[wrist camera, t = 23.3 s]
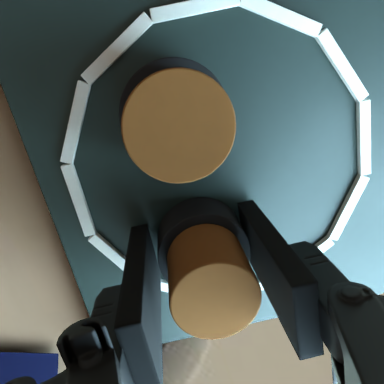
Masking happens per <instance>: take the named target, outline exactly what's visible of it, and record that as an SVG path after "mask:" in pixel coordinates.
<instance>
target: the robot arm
mask: <svg viewBox="0 0 384 384" xmlns="http://www.w3.org/2000/svg"><path fill="white" fill-rule="evenodd" d="M237 205H238V211H239V218H240V224H241V226H242V227H243V229H244V231H245V233H246V235H247V237H248V239H249V242H250V247H251V256H250V263H251V265H252V267H253V269H254V271H255V273H256V275H257V277H258V279H259V281H260V283H261V285H262V287H263V289H264V291H265V293H266V295H267V297H268V299H269V301H270V303H271V305H272V306H273V308H274V310H275V312H276V314H277V316H278V318H279V320H280V322H281V324H282V326H283V328H284V330H285V332H286V334H287V336H288V338H289V340H290V342H291V344H292V346H293V348H294V350H295V351H296V353H297V355H298V357H299V359H300V360H304V359H308V358H312V357H316V356H320V355H324V351H323V342H324V343H325V345H326V347H327V348H328V350H329V351H330V353H331V361H332V375H333V384H337V383H338V384H384V296H382V295H377V294H376V293H375V292H374V291H373V290H372V289H371V288H369V287H367V286H365V285H364V284H360V283H356V282H350V281H349V280H348V279H347V278H346V277H345V275H344V274H343V273H342V272H341V271H340V270H339V269H338V268H337V267H336V266H335V265H334V264H333V263H332V262H331V261H330V260H329V259H328V258H327V257H326V256H325V255H324V254H323V252H322V251H321V250H320V249H319V248H318V247H317V246H315V245H313V244H311V243H309V242H307V241H302V242H298V243H293V244H288V243H287V242H286V240H285V239H284V238H283V237H282V235H281V234H280V233H279V232H278V230H277V229H276V228H275V227H274V225H273V224H272V223H271V222H270V220H269V219H268V218H267V217H266V215H265V214H264V213H263V212H262V210H261V209H260V208H259V207H258V205H257V204H256V203H255V202H254V200H249V201H245V202H240V203H237ZM56 345H57V347H58V350H59V352H60V354H61V356H62V359H63V361H64V363H65V366H66V370H64V371H63V372H61V373H60V374H58V375H56V376H54V377H52V378H50V379H48V380H46V381H44V382H42V383H40V384H163V367H162V319H161V273H160V269H159V266H158V262H157V258H156V254H155V251H154V247H153V243H152V240H151V236H150V232H149V229H148V225H147V224H142V225H138V226H134V227H131V230H130V236H129V242H128V248H127V254H126V260H125V265H124V271H123V277H122V283H121V284H120V285H115V286H111V287H107V288H103V289H102V291H101V292H100V293H99V294H98V296H97V297H96V299H95V302H94V306H93V310H92V313H91V318H87V319H83V320H80V321H78V322H76V323H74V324H72V325H71V326H69V327H68V328H67V329H66V330H64V332H63V333H62V334H61V335H60V337H59V338H58V341H57V344H56ZM5 384H37V383H36V381H35V379H34V378H32V377H29V376H22V377H18V378H15V379H12V380H10V381H8V382H7V383H5Z"/></svg>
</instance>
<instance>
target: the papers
mask: <svg viewBox="0 0 384 384" xmlns="http://www.w3.org/2000/svg"><path fill="white" fill-rule="evenodd" d="M57 373H58V354H50V353H16V352H0V384H5V383H7V382H8V381H10V380H12V379H15V378H18V377H22V376H29V377H32V378H34V379H35V381H36V383H37V384H40V383H42V382H44V381H46V380H48V379H50V378H52V377H54V376H56V375H57Z"/></svg>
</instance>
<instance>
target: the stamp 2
mask: <svg viewBox="0 0 384 384" xmlns="http://www.w3.org/2000/svg"><path fill="white" fill-rule="evenodd" d="M250 256H251V247H250V242H249V239H248V237H247V235H246V233H245V231H244V229H243V227H242V226H241V224H240V222H239V220H238V218H237V216H236V215H235V213H234V212H233V211H232V210H231V209H230V208H229V207H228V206H227V205H226V204H224V203H222V202H220V201H218V200H216V199H212V198H207V197H196V198H191V199H187V200H184V201H182V202H180V203H178V204H176V205H175V206H174V207H172V208H171V209H170V210H169V211H168V212H167V213H166V215H165V216H164V217H163V219H162V221H161V223H160V226H159V230H158V252H157V257H158V266H159V269H160V272H161V274H162V276H163V277H164V279H165V280H166V281H167V282H168V293H169V309H170V313H171V316H172V318H173V320H174V321H175V323H176V324H177V325H178V326H179V327H180V328H181V329H182V330H183V331H184V332H186V333H188V334H189V335H191V336H194V337H197V338H201V339H211V340H213V339H222V338H226V337H229V336H232V335H234V334H236V333H238V332H240V331H242V330H243V329H244V328H246V327H247V326H248V325H249V324H250V323H251V322H252V321H253V320H254V318H255V317H256V315H257V313H258V311H259V309H260V305H261V300H262V292H261V287H260V284H259V282H258V280H257V277H256V275H255V273H254V271H253V269H252V267H251V265H250V263H249V261H250Z"/></svg>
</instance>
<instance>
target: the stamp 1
mask: <svg viewBox="0 0 384 384" xmlns="http://www.w3.org/2000/svg"><path fill="white" fill-rule="evenodd" d="M119 122H120V127H121V134H122V139H123V143H124V145H125V148H126V150H127V152H128V154H129V156H130V157H131V159H132V160H133V162H134V163H135V164H136V165H137V166H138V167H139V168H140V169H141V170H142V171H143V172H145V173H146V174H148V175H149V176H151V177H153V178H155V179H157V180H160V181H163V182H168V183H175V184H180V183H190V182H194V181H197V180H200V179H202V178H204V177H206V176H208V175H209V174H211V173H212V172H214V171H215V170H216V169H217V168H218V167H219V166H220V165H221V164H222V163H223V162H224V160H225V159H226V158H227V156H228V154H229V153H230V150H231V148H232V146H233V143H234V139H235V134H236V116H235V112H234V108H233V105H232V102H231V100H230V98H229V97H228V95H227V93H226V92H225V90H224V89H223V87H222V85H221V83H220V82H219V80H218V79H217V77H216V76H215V75H214V74H213V73H212V72H211V71H210V70H209V69H207V68H206V67H205V66H203V65H201V64H200V63H198V62H196V61H193V60H191V59H187V58H182V57H165V58H160V59H156V60H154V61H151V62H149V63H147V64H146V65H144V66H143V67H141V68H140V69H139V70H138V71H136V72H135V73H134V74H133V76H132V77H131V78H130V79H129V81H128V82H127V84H126V86H125V88H124V90H123V92H122V95H121V98H120V104H119Z"/></svg>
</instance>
